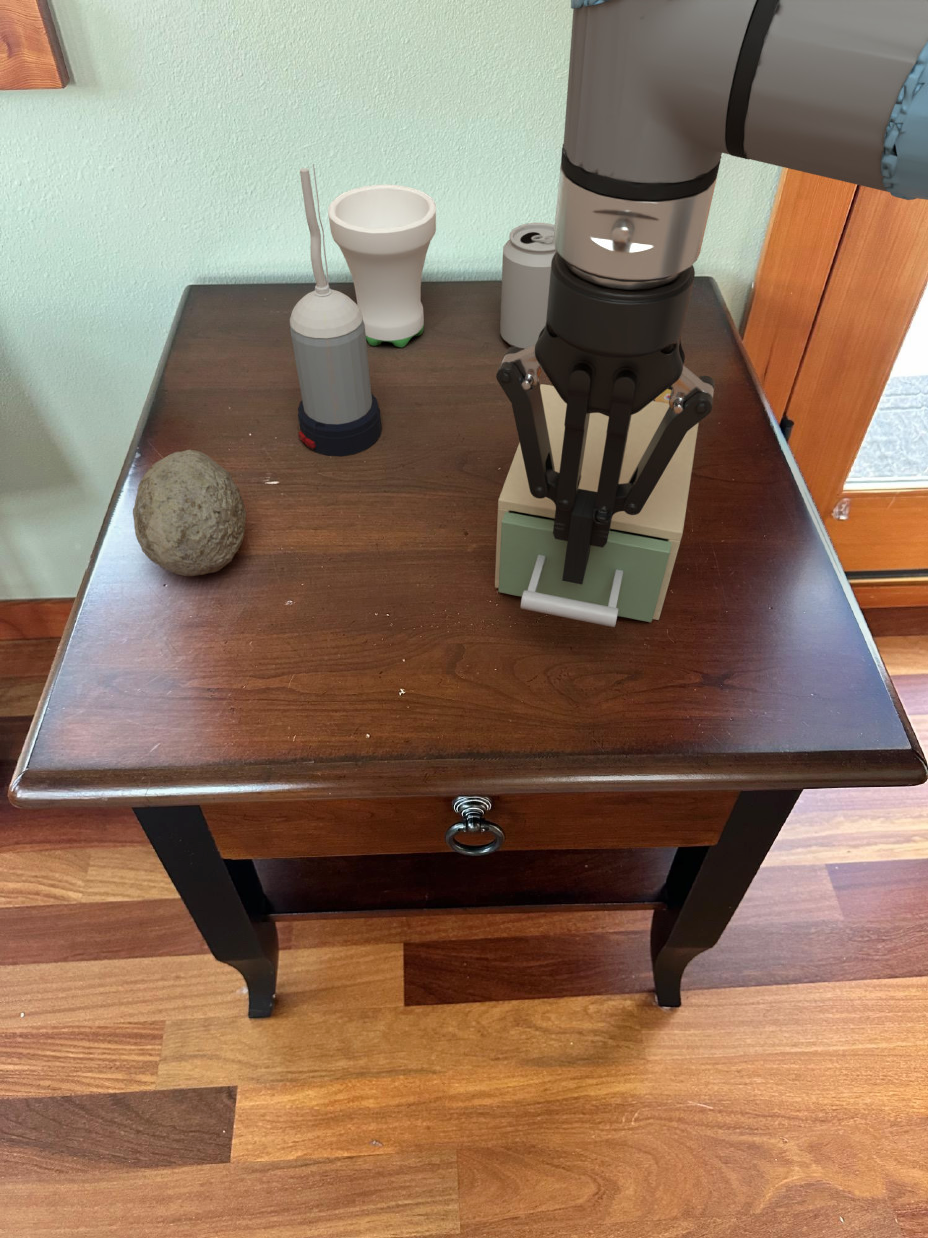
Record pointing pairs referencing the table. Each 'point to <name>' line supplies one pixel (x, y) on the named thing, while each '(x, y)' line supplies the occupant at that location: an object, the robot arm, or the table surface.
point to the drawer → (612, 579)
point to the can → (526, 283)
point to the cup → (385, 255)
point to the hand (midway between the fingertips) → (575, 569)
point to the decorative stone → (189, 514)
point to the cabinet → (663, 504)
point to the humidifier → (331, 359)
